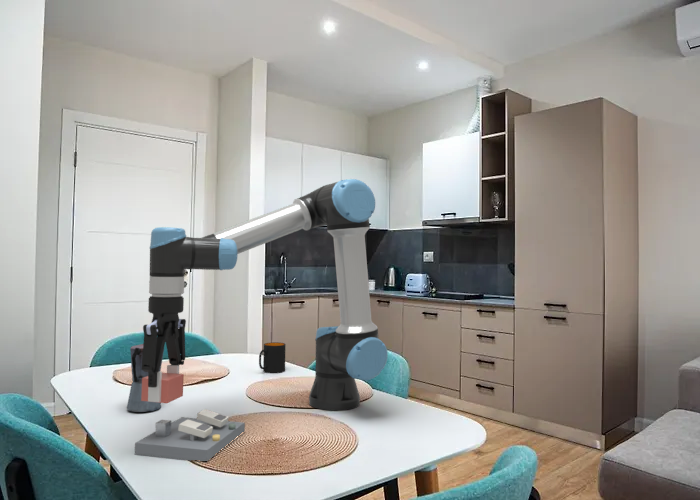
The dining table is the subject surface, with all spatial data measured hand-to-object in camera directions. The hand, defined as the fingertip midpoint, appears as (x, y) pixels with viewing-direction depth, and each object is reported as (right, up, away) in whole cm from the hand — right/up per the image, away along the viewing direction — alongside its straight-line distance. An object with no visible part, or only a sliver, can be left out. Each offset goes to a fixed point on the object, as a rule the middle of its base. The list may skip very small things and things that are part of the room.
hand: (163, 397), depth 116 cm
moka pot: (-16, -12, +28) cm, 34 cm away
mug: (+12, -13, +79) cm, 81 cm away
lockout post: (0, -9, 0) cm, 9 cm away
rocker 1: (+8, -6, -2) cm, 10 cm away
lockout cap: (0, 0, 0) cm, 0 cm away
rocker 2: (+9, -7, +6) cm, 13 cm away
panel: (+6, -11, +2) cm, 13 cm away
